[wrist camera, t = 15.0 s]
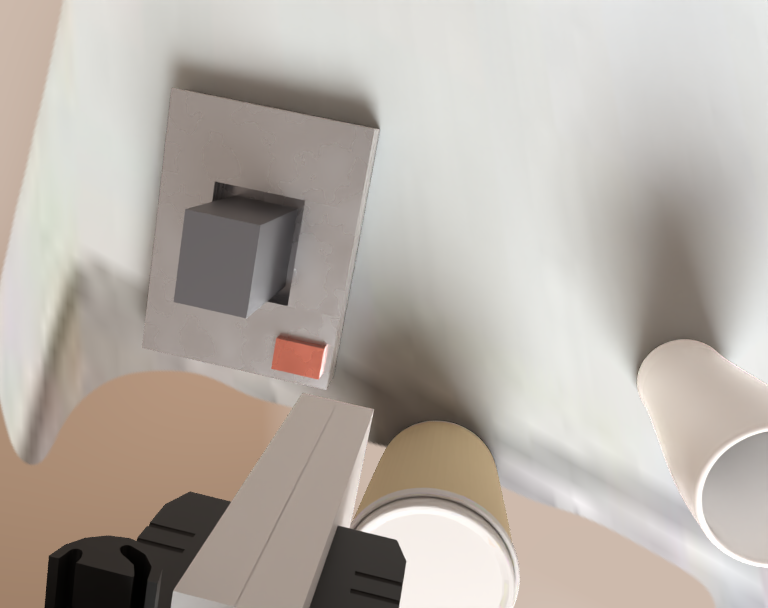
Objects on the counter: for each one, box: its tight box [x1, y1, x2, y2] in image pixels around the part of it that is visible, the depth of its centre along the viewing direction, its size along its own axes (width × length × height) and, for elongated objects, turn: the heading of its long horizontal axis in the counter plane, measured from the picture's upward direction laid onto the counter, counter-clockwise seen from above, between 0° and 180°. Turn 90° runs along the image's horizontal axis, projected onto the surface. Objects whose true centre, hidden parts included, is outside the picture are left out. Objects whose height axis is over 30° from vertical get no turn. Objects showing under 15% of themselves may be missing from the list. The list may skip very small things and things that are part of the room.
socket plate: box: [142, 88, 380, 390], centre depth 44 cm, size 16×12×3 cm
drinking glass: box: [637, 339, 768, 567], centre depth 37 cm, size 7×7×15 cm
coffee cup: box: [350, 421, 520, 608], centre depth 42 cm, size 9×9×12 cm
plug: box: [174, 195, 298, 318], centre depth 41 cm, size 5×4×8 cm
